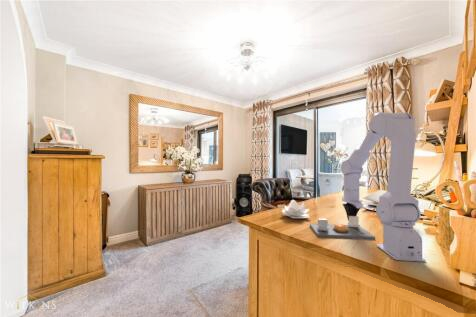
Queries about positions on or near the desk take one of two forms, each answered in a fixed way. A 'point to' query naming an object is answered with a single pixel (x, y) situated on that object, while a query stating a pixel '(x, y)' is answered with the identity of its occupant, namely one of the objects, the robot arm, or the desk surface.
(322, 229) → the grey slider knob
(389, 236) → the robot arm
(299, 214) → the lotus flower
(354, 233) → the panel
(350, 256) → the desk surface
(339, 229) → the push button
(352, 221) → the toggle lever
